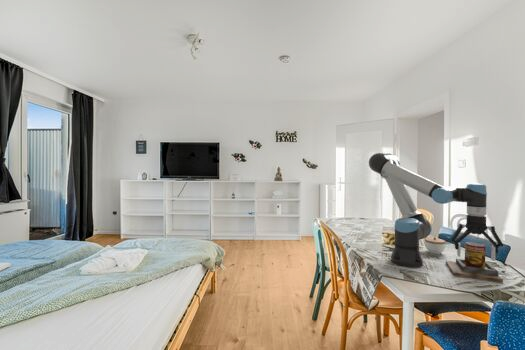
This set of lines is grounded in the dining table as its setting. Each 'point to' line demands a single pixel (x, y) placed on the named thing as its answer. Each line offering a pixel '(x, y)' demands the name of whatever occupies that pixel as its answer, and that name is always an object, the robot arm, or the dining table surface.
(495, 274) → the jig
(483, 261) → the canned food
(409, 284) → the dining table surface
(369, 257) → the dining table surface
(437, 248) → the lidded jar
